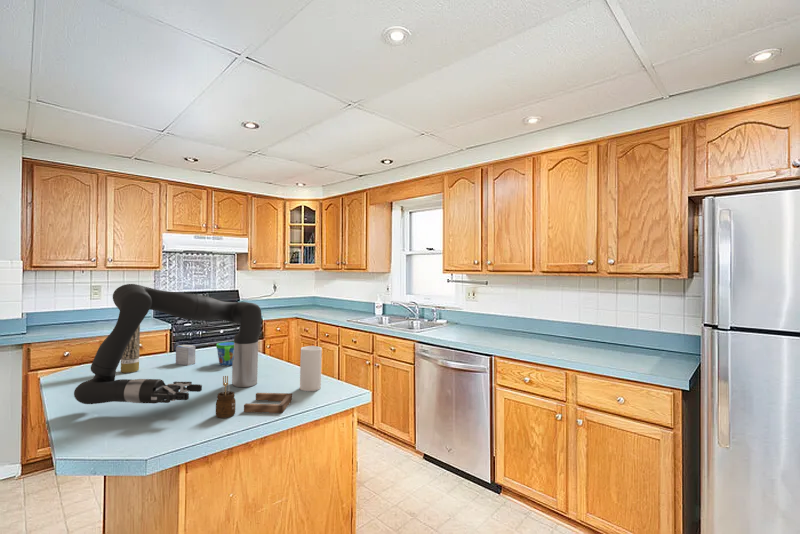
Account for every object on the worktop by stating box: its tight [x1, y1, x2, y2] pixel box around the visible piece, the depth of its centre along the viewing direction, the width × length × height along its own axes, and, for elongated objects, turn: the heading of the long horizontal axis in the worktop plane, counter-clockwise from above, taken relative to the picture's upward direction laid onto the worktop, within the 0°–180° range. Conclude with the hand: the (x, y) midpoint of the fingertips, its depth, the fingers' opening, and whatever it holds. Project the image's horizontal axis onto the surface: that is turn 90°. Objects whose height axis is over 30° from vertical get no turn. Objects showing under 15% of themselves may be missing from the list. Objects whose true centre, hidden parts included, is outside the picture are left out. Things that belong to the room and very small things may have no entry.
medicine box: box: [175, 344, 196, 366], centre depth 195 cm, size 8×4×9 cm, turn 71°
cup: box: [299, 345, 323, 392], centre depth 163 cm, size 8×8×16 cm
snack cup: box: [215, 341, 234, 367], centre depth 196 cm, size 16×10×10 cm
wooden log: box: [120, 324, 141, 374], centre depth 180 cm, size 7×7×25 cm
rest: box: [243, 392, 293, 414], centre depth 141 cm, size 13×13×2 cm
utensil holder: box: [215, 375, 236, 419], centre depth 132 cm, size 6×6×12 cm
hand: (195, 392), depth 132 cm, fingers open, 8 cm apart
